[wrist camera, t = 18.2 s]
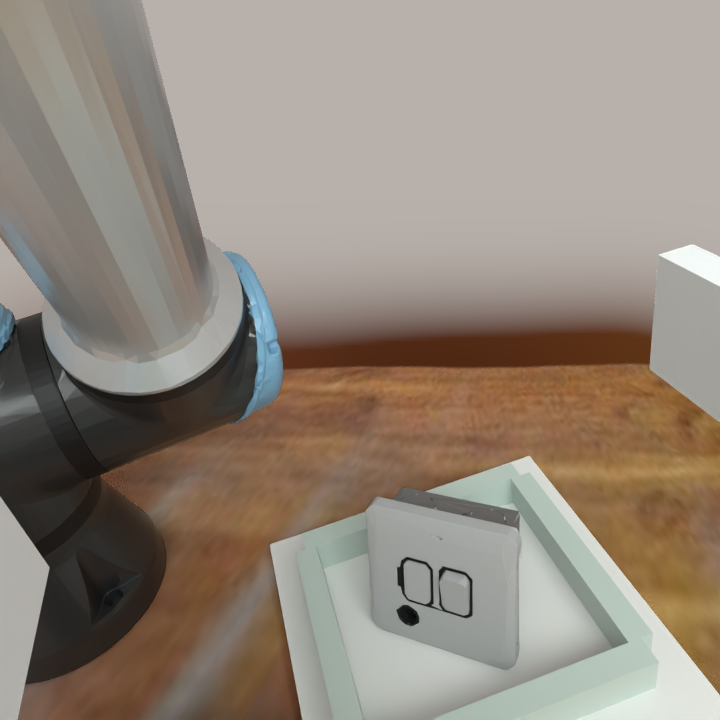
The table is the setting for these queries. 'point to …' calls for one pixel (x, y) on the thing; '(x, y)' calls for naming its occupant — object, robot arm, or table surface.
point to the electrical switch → (446, 574)
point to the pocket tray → (536, 628)
